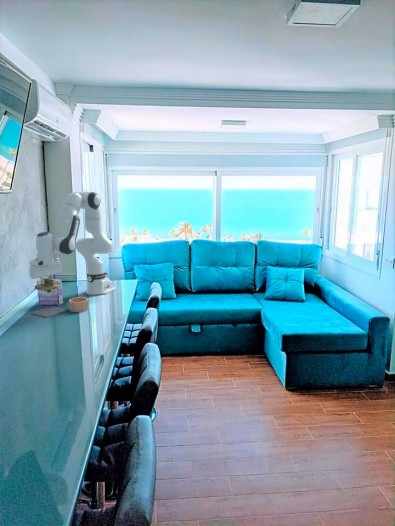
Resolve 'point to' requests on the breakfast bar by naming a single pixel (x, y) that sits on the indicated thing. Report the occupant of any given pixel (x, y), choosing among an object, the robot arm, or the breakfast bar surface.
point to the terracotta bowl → (78, 304)
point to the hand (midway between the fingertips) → (47, 283)
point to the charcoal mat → (49, 311)
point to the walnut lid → (47, 285)
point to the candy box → (51, 294)
